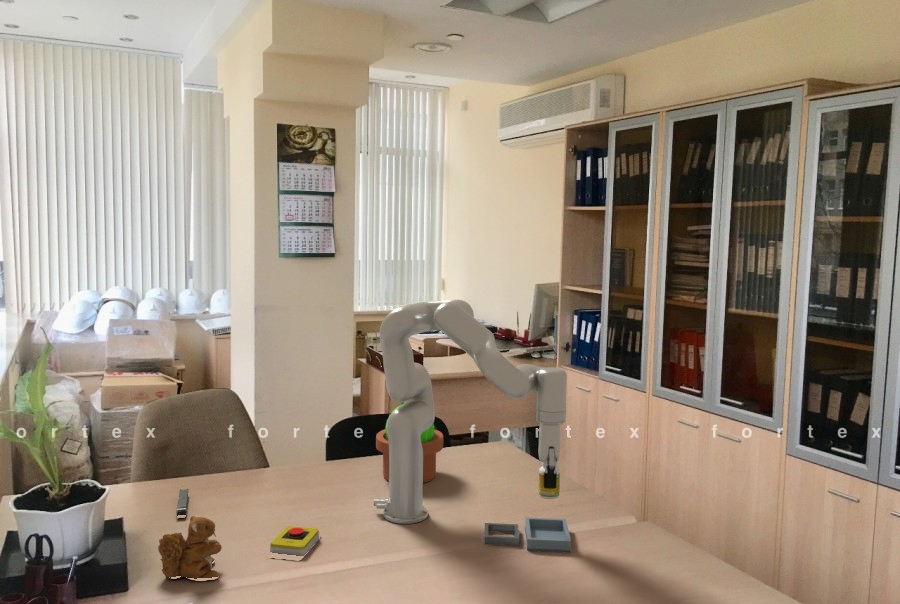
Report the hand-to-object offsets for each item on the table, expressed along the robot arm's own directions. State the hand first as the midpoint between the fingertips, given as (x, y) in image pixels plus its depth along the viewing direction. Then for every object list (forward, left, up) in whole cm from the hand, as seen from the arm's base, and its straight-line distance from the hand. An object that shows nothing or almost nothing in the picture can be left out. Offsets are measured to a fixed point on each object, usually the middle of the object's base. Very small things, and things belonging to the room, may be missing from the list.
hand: (549, 483), depth 187 cm
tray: (0, 0, -15) cm, 15 cm away
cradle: (-12, 0, -15) cm, 20 cm away
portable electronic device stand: (-103, +11, -16) cm, 105 cm away
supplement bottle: (0, 0, -4) cm, 4 cm away
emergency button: (-65, -11, -16) cm, 67 cm away
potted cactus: (-42, +45, -16) cm, 64 cm away
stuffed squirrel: (-85, -27, -16) cm, 90 cm away
